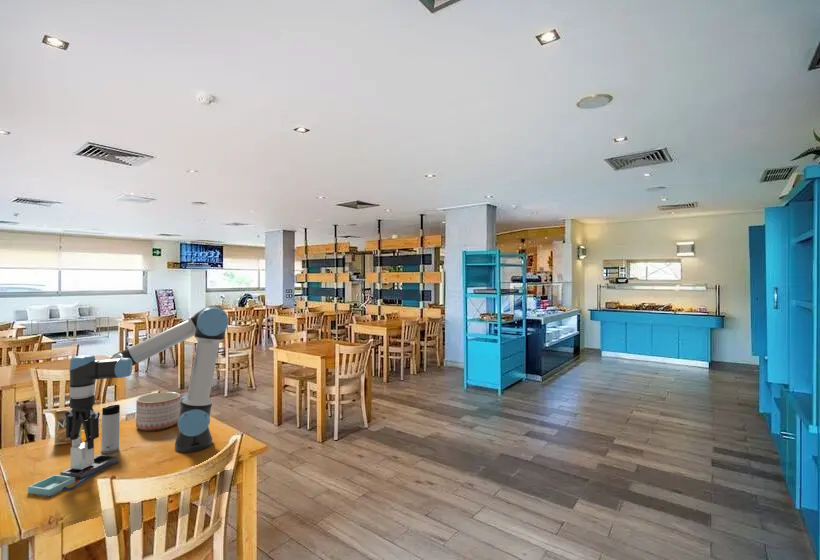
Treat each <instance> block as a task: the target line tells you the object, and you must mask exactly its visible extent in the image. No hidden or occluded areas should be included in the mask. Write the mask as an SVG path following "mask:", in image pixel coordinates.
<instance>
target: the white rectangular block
mask: <svg viewBox="0 0 820 560" xmlns="http://www.w3.org/2000/svg"><path fill="white" fill-rule="evenodd" d="M94 457H95V446H94V447H93V456H91V457H88V458H86V459H85V458H84V442H81V444H78V445H76V446H73V447H71V446H70V468H71V469H79V470H82V469H84V468H86V467H88V466H90V465H93V464H94Z"/></svg>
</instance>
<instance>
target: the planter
mask: <svg viewBox="0 0 820 560" xmlns="http://www.w3.org/2000/svg"><path fill="white" fill-rule="evenodd" d="M180 400H181V394H180V393H179V392H175V391H160V393H159V392H153V393H148V394H144V395H142V396H139V397H138V398H136V403H135V404H136V405H135V406H136V408H135V410H136V412H135V428H137V429H139V430H141V431H145V432H155V430H157V431H162V430H161V429H163V430H166V429H165V428H167V429H169V428H168V427H170V428H171V426H172V427H174V426H175V425H177V423H178V419H179V414H180ZM174 424H175V425H174ZM173 425H174V426H173Z"/></svg>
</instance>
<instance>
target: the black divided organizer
mask: <svg viewBox="0 0 820 560" xmlns="http://www.w3.org/2000/svg"><path fill="white" fill-rule="evenodd" d="M117 464H119V456H117V455H108V454H102V453H101V454H98V455H96V456H94V464H93V465H90V466H88V467H86V468H84V469H82V470H85V471H83V472H81V473H77V472H79V471H81V470H79V469H71V467H69V468H65V470H62V471H60V474H59V475H61V476H69V477H75V479H77V480H81V479H83V478H85V477H88V476H90V475H92V474H94V473H96V472H98V473H97V474H99V473H100V472H103V471H105V470H107V469H108V468H111V467H113V466H115V465H117Z"/></svg>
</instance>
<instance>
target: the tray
mask: <svg viewBox="0 0 820 560" xmlns="http://www.w3.org/2000/svg"><path fill="white" fill-rule="evenodd" d="M60 482H63V483H60ZM58 483H60V484H58ZM73 483H75V477H69V476H61V475H60V474H54V475H51V476H49V477H47V478H45V479H43V480H39V481H36V483H33V484H31V485H29V486H27V494H28V493H31V494H30V495H33V494H37V495H36V496H40V495H43V496H42V497H47V496H48V498H50V497H52V496H53V495H55V494H58V493H60V492H62V491H64V490H63V488H64V487H66V486H68V485H70V484H73ZM57 484H58V485H57ZM55 485H56V486H55ZM53 486H54V487H53ZM51 495H52V496H51ZM49 496H50V497H49Z"/></svg>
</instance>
